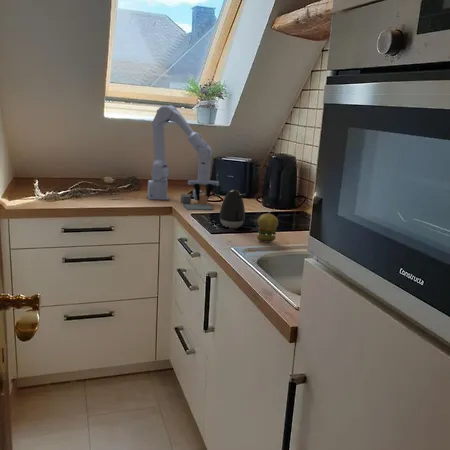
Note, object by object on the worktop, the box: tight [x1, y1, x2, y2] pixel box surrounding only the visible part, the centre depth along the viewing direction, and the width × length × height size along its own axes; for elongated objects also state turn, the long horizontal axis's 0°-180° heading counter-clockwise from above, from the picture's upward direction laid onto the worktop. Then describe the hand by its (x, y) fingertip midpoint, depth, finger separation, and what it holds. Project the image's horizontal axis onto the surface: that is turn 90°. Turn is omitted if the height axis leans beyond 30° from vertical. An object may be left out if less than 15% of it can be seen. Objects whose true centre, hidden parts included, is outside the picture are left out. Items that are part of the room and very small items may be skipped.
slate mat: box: [182, 203, 214, 211], centre depth 221 cm, size 12×9×1 cm
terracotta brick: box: [196, 193, 209, 204], centre depth 230 cm, size 4×6×4 cm, turn 15°
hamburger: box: [256, 211, 279, 243], centre depth 175 cm, size 8×7×12 cm
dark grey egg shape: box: [219, 189, 247, 229], centre depth 192 cm, size 10×10×15 cm
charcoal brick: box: [180, 193, 192, 205], centre depth 228 cm, size 4×6×4 cm, turn 16°
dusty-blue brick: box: [192, 189, 204, 201], centre depth 241 cm, size 4×6×4 cm, turn 15°
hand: (202, 200), depth 231 cm, fingers closed on terracotta brick, 4 cm apart
